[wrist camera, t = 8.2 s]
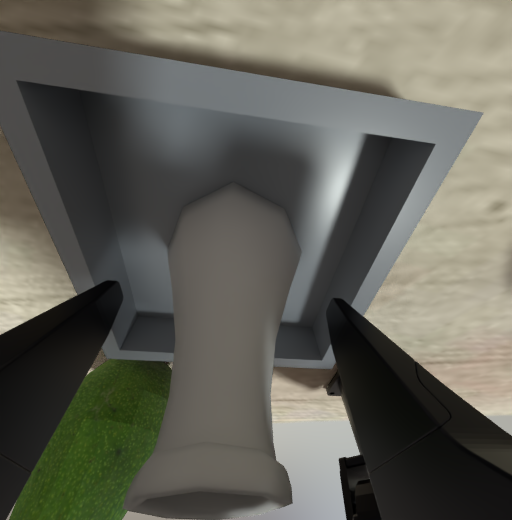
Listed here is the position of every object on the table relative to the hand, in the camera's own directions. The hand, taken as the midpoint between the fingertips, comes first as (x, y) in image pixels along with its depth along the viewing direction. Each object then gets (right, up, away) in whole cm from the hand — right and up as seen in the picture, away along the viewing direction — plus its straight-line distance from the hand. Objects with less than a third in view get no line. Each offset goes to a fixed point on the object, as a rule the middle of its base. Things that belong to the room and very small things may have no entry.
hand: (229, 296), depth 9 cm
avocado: (-9, -8, +11) cm, 16 cm away
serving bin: (0, +3, +4) cm, 5 cm away
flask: (0, +2, +3) cm, 4 cm away
